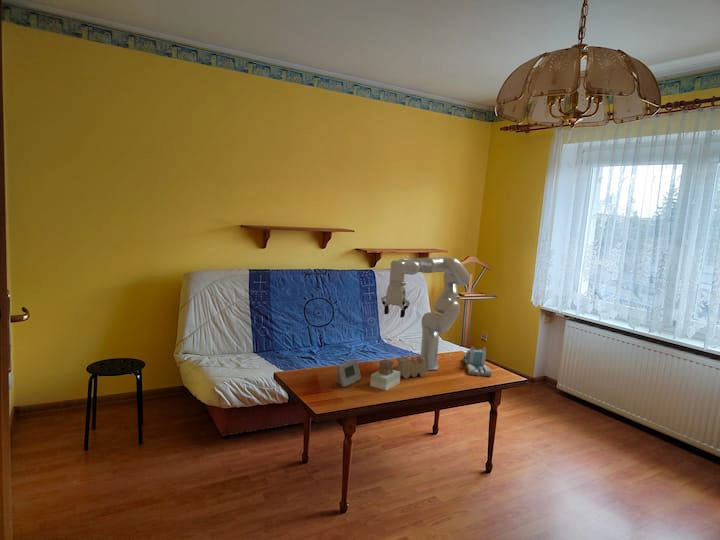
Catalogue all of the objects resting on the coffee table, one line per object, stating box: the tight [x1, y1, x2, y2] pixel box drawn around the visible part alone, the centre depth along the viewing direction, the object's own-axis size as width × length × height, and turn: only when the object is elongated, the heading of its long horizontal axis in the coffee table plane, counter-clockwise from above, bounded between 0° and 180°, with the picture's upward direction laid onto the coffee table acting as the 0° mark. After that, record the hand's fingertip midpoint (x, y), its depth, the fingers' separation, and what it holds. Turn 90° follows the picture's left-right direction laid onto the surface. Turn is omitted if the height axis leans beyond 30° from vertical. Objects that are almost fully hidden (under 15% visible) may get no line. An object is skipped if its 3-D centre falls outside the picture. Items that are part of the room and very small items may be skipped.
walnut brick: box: [378, 358, 394, 375], centre depth 234 cm, size 5×5×6 cm
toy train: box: [396, 355, 429, 379], centre depth 250 cm, size 6×17×10 cm, turn 113°
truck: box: [462, 345, 492, 377], centre depth 270 cm, size 12×29×15 cm, turn 175°
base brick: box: [369, 369, 401, 391], centre depth 235 cm, size 14×9×6 cm, turn 146°
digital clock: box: [336, 358, 362, 388], centre depth 234 cm, size 16×9×11 cm, turn 136°
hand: (394, 315), depth 247 cm, fingers open, 9 cm apart
